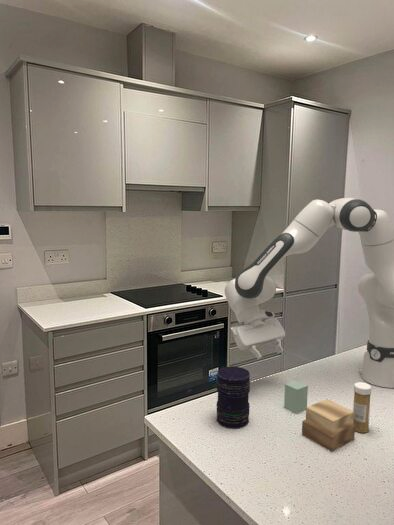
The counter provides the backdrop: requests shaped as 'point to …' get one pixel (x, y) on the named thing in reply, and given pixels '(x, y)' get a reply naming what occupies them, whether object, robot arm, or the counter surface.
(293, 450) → the counter surface
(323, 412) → the oak block
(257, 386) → the counter surface
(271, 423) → the counter surface
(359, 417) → the sprinkles bottle
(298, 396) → the sage block
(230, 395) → the storage jar
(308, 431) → the walnut block
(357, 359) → the counter surface
